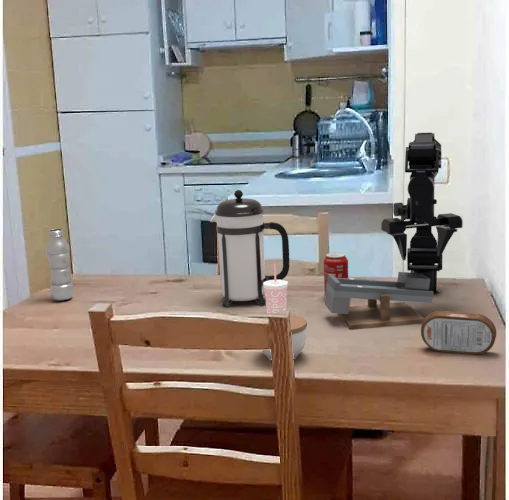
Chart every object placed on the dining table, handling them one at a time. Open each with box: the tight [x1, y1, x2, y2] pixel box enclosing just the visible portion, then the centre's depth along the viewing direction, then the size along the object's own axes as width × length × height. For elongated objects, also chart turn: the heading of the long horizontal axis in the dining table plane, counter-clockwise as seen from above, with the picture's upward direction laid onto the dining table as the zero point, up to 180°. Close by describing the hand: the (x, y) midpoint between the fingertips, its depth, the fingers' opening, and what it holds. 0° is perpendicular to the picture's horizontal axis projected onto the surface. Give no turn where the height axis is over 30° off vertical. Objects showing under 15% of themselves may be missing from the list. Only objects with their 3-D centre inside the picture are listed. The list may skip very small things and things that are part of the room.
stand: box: [337, 294, 425, 330], centre depth 170 cm, size 18×14×7 cm
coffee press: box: [209, 189, 290, 308], centre depth 187 cm, size 17×16×30 cm
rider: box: [396, 271, 430, 291], centre depth 170 cm, size 6×6×4 cm
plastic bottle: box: [45, 228, 75, 301], centre depth 197 cm, size 6×7×20 cm
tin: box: [420, 310, 497, 355], centre depth 146 cm, size 15×3×8 cm, turn 70°
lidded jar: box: [261, 314, 308, 361], centre depth 148 cm, size 11×11×9 cm
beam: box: [324, 274, 435, 315], centre depth 170 cm, size 24×9×8 cm, turn 97°
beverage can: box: [323, 252, 349, 296], centre depth 187 cm, size 6×6×12 cm
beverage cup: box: [263, 262, 289, 314], centre depth 173 cm, size 6×6×14 cm
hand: (421, 258), depth 172 cm, fingers open, 9 cm apart
